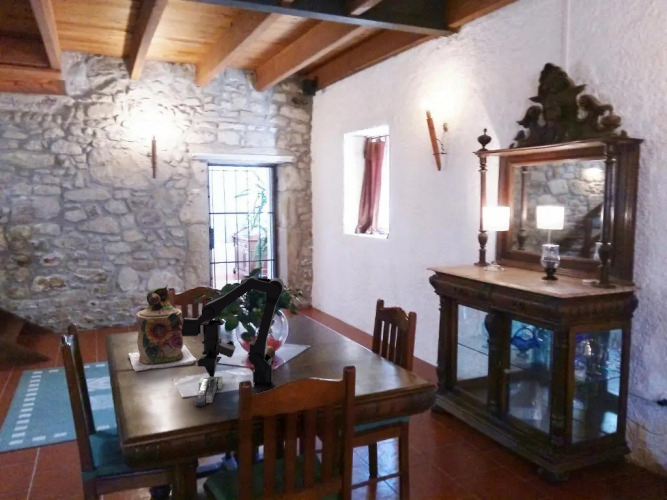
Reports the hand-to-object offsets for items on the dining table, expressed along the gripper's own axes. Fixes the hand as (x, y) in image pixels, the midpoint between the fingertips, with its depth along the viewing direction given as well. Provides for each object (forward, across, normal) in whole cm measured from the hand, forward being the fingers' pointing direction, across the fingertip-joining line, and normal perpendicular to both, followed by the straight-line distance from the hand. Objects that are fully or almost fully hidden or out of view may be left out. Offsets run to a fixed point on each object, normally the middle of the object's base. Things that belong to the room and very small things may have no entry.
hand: (212, 377), depth 196 cm
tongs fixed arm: (+2, -11, -2) cm, 12 cm away
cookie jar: (+2, +27, +27) cm, 38 cm away
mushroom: (+2, +28, -16) cm, 32 cm away
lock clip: (+2, -4, 0) cm, 5 cm away
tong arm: (+2, -13, 0) cm, 13 cm away
